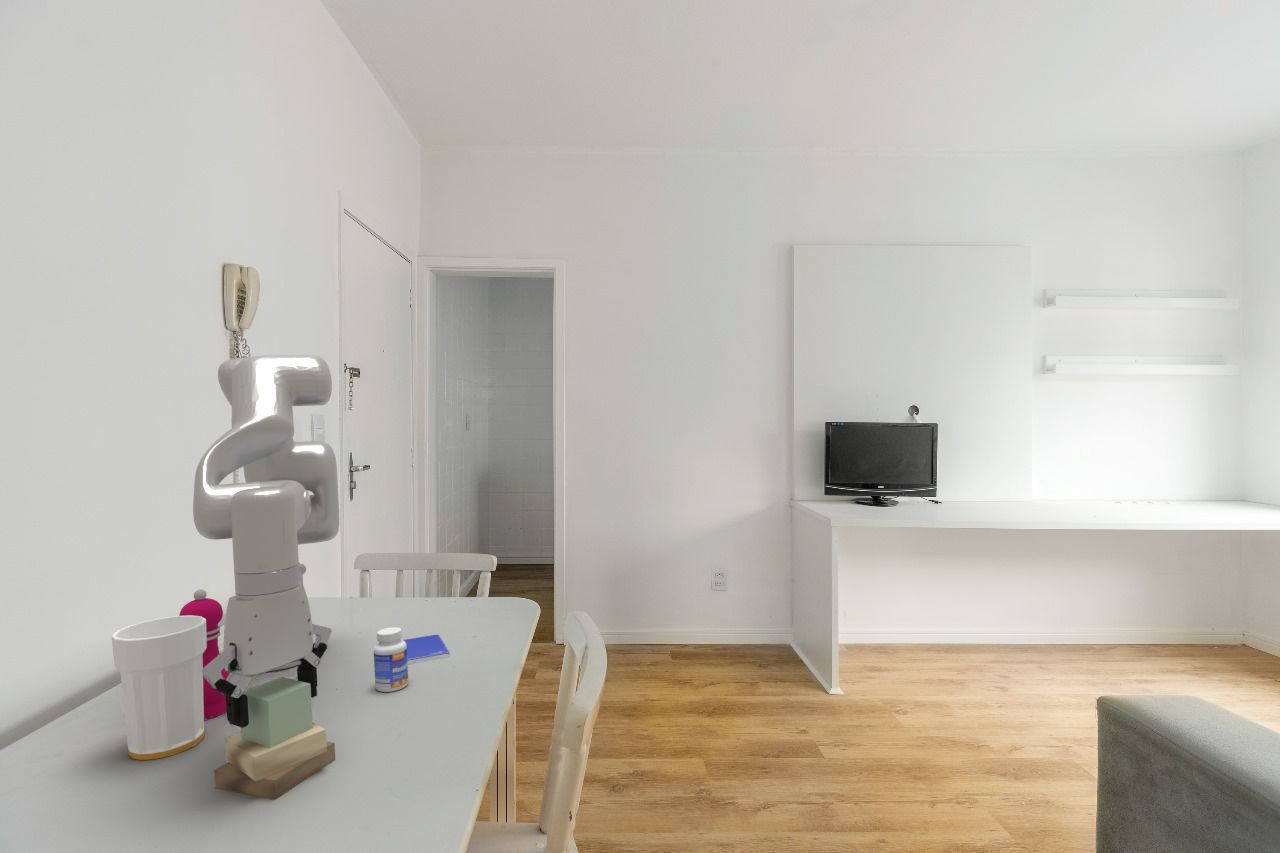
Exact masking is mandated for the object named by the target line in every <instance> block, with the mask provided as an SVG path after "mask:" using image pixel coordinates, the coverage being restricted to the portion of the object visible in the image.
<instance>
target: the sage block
mask: <svg viewBox="0 0 1280 853" xmlns="http://www.w3.org/2000/svg"><path fill="white" fill-rule="evenodd" d="M243 694H244V695H247V698H248V715H249V724H248V726H246V727H244V728H241V727H240V728H241V732H242V739H245V740H248V741H251V742H254V743H257V744H260V745H263V746H267V747H270V748H271V747H273V746H275V745H278V744H280V743H282V742H284V741H286V740H288V739H290V738H292V737H294V736H297V735H299V734H301V733H303V732H305V731H307V730H309V729H311V728H313V725H312V722H313V712H312V711H313V709H312V704H313V703H312V698H311V684H310V683H306V682H301V681H298V679H297V680H296V679H292V678H290V677H285V676H281V677H278V678H276V679H273V680H272V679H271V680H270V681H268V682H265V683H263V684H260V685H257V686H254V687H252V688H249V689H247V690H246V689H245V690H244V691H243Z"/></svg>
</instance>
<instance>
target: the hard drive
mask: <svg viewBox="0 0 1280 853" xmlns="http://www.w3.org/2000/svg"><path fill="white" fill-rule="evenodd" d="M402 640H403V641H405V642H406V645H407V665H408V666H409V665H414V664H420V663H425V662H430V661H436V660H442V659H447V658H451V654H450V650H449V649H448V647H447V646H446V644H445V643H444V641H443V639H442V637H441V636H440V635H439V634H431V635H425V636H421V637H413V638H407V639H402Z"/></svg>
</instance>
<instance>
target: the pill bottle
mask: <svg viewBox="0 0 1280 853" xmlns="http://www.w3.org/2000/svg"><path fill="white" fill-rule="evenodd" d="M402 637H403V633H402V628H400V627H394V626H393V627H385V628H382V629H379V630H378V631H377V632H376V640H377V643H376V644H375V645H374V647H373V667H374V686H375V689H376V691H379V692H380V693H381V692H383V693H390V692H396V691H399V690H402V689H404V688H406V687H407V686H408V684H409V669H408V668H409V667H408V666H409V665H407V645H406V642H405V641H403V640H404V639H402Z"/></svg>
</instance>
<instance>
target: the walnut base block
mask: <svg viewBox="0 0 1280 853" xmlns="http://www.w3.org/2000/svg"><path fill="white" fill-rule="evenodd" d="M326 744H327V752H325V753H322V754H320V755H318V756H315V757H313V758H310V759H308V760H306V761H303V762H301V763H298V764H296V765H294V766H291V767H289V768H286V769H284V770H282V771H279V772H277V773H274V774H272V775H270V776H267V777H265V778H263V779H261V780H258V781H254V780H253V779H252V778H250V777H249V776H248V775H246V774H245V773H243V772H242V771H241V770H239V769H238V768H236V767H235V766H234V765H232V764H231V763H229V762H228V761H227V762H226V763H224V764H222V765H221V766H218V767H217V768H215V769H214V770H213V772H214V789H219V790H224V791H229V792H236V793H241V794H246V795H249V796H250V795H251V796H256V797H262V798H267V799H273V800H278V799H279V798H280V797H282V796H283V795H285V794H286V793H288V792H290V791H291V790H292V789H293V788H295V787H296V786H299V785H300V784H301V783H303V782H304V781H306V780H307V779H308V778H310V777H312V776H313V775H315V774H316V773H317V772H319V771H320V770H322V769H323V768H325V767H326V766H328V765H329V764H331V763H332V762H334V761H336V748H335V747H336V745H335V742H333V741H326Z"/></svg>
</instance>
